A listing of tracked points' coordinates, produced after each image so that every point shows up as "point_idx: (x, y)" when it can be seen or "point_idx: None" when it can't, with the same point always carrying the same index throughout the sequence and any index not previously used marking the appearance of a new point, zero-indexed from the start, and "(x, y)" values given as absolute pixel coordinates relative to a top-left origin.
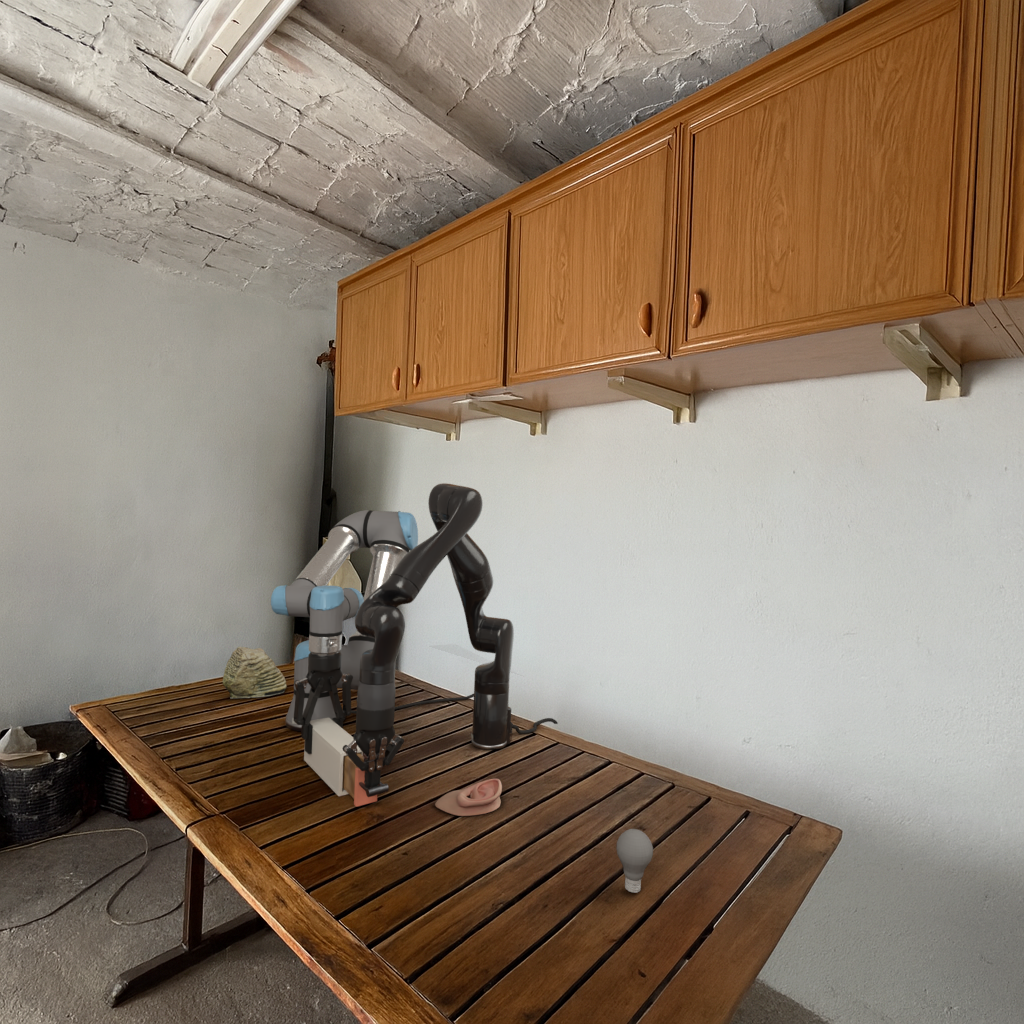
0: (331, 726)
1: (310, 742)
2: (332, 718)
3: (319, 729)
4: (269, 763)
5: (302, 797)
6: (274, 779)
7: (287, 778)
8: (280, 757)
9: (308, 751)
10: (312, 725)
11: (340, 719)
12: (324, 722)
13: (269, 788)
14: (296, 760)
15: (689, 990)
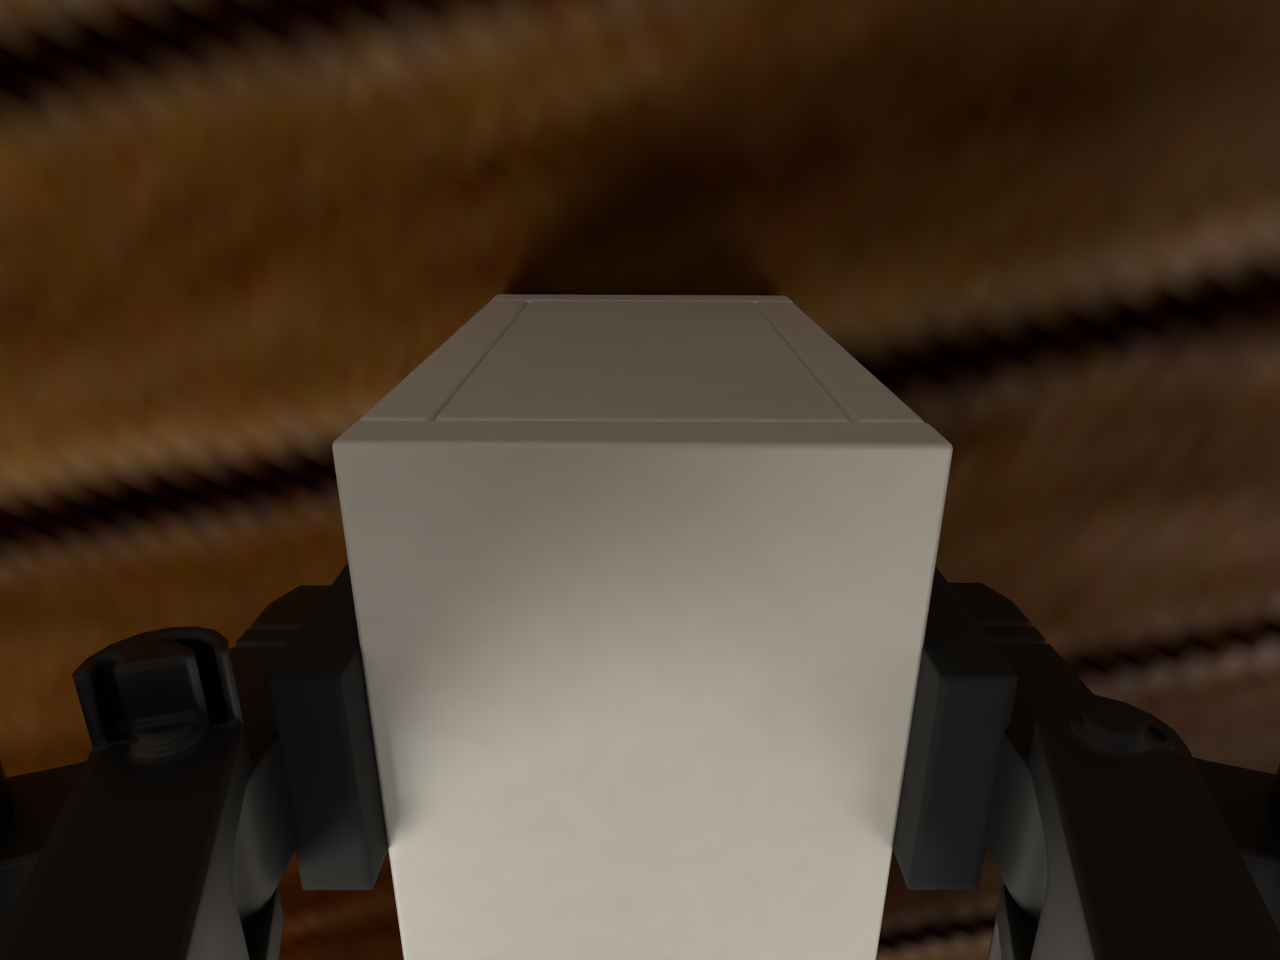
0: (740, 920)
1: None
2: (934, 686)
3: (487, 947)
4: (106, 153)
5: (301, 946)
6: (128, 578)
7: (247, 616)
8: (257, 28)
9: None
10: (420, 733)
11: (988, 956)
12: (712, 692)
13: (72, 716)
14: (422, 239)
15: None
